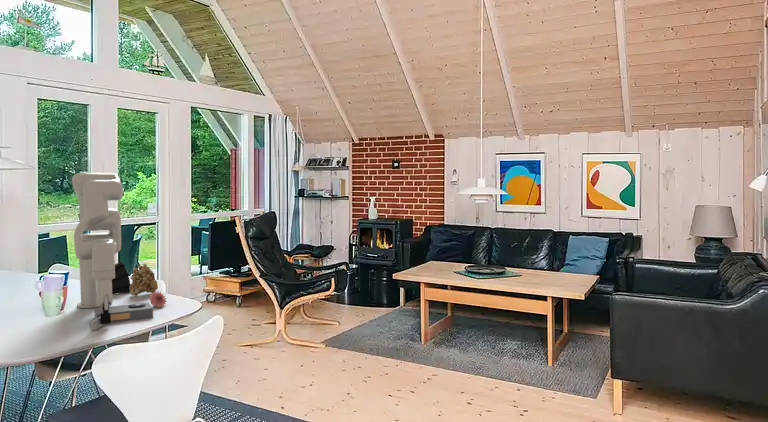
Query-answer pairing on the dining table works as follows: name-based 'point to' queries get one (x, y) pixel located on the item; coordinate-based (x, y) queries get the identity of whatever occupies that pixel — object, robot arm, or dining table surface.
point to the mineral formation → (143, 281)
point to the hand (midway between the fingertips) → (105, 323)
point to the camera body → (128, 312)
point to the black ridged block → (120, 279)
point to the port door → (96, 324)
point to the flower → (157, 299)
